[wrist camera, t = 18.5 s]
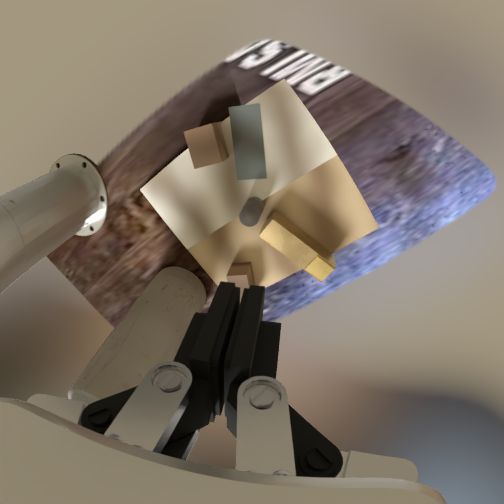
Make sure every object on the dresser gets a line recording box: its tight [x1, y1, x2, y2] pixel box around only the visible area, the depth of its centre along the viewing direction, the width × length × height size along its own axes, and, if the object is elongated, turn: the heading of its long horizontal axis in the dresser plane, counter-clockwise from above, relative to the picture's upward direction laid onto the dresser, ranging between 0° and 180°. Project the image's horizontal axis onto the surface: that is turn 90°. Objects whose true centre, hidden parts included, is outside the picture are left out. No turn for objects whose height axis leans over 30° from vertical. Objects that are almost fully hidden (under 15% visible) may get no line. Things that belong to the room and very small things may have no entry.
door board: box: [140, 79, 379, 302], centre depth 32 cm, size 21×20×5 cm
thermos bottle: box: [68, 266, 206, 405], centre depth 30 cm, size 8×8×28 cm
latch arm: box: [259, 210, 336, 282], centre depth 32 cm, size 8×2×3 cm, turn 54°
